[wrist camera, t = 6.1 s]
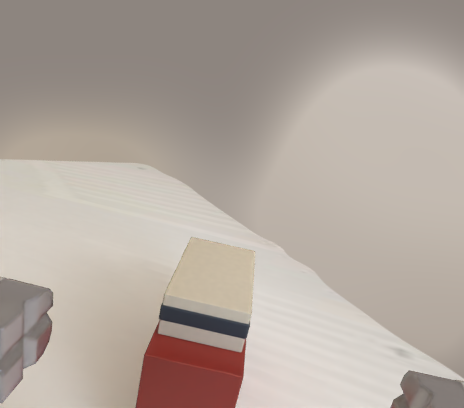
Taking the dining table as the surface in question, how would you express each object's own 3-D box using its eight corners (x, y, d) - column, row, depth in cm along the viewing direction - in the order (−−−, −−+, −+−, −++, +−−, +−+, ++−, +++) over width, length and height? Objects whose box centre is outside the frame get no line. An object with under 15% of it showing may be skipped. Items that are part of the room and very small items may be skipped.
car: (219, 478, 21) (258, 336, 18) (123, 456, 21) (146, 311, 18) (236, 331, 33) (261, 232, 30) (176, 317, 33) (195, 217, 30)
